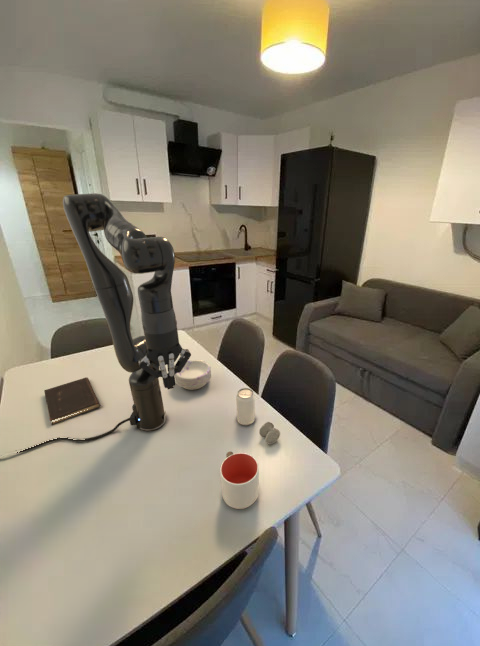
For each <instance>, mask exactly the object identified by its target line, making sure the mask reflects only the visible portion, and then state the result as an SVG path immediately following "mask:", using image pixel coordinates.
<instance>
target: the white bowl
mask: <svg viewBox="0 0 480 646" xmlns="http://www.w3.org/2000/svg"><path fill="white" fill-rule="evenodd" d="M211 379H212V367H211V365H210V363H208V362H207V361H205V360H201V359H189V360H188V361H187V363H186V364H185V366H184V367H183V369H182V370H181V372H179V373H176V374H175V383H176V384H177V386H178V387H181V388H184V389H186V390H189V391H195V390H199V389H202V388H203V387H204V386H206V385H207V384H208V383H209V382H210V381H211Z"/></svg>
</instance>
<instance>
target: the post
mask: <svg viewBox="0 0 480 646" xmlns="http://www.w3.org/2000/svg"><path fill="white" fill-rule="evenodd" d="M233 454H234V452H233V451H228V452H226V454H225V456H226V458H227V457H229V456H230V455H233Z"/></svg>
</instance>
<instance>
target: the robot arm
mask: <svg viewBox="0 0 480 646" xmlns="http://www.w3.org/2000/svg"><path fill="white" fill-rule="evenodd" d="M62 206H63V211H64V213H65V217H66V219H67V221H68V223H69V226H70V228H71V231H72V233H73V236H74V237H75V240H76V242H77V244H78V247H79V250H80V251H81V254H82V256H83V259H84V262H85V264H86V267H87V270H88V273H89V276H90V280H91V282H92V285H93V288H94V290H95V294H96V296H97V298H98V301H99V305H100V306H101V309H102V311H103V314H104V318H105V320H106V323H107V326H108V329H109V333H110V337H111V341H112V346H113V349H114V353H115V356H116V359H117V361H118V363H119V365H120V367H121V368H122V369H123V370H124V371H126V372H128V373H130V375H129V377H128V385H129V388H130V391H131V392H130V393H131V396H132V401H133V404H132V406H131V409H132V411H131V414H130V416H129V417H128V418H126V419H123V420H122V421H120V422H118V423H117V424H116V425H115V426H114V427H113V428H112V429H111V430H109V431H106V432H105V433H101V434H100V435H96V436H92V437H87V438H84V439H85V440H73V439H75V438H73V439H68V438H70V437H69V436H68V437H67V436H66V437H67V438H60V437H61V436H59V437H56V438H57V439H54V438H52V439H53V440H50V439H48V440H49V441H47V440H45V441H46V442H45V441H43V442H44V443H42V442H40V443H41V444H39V443H38V444H39V445H37V444H34V445H33V446H34V447H32V446H30V447H31V448H29V447H27V448H28V449H26V448H24V449H25V450H23V451H20V452H19V453H18V452H17V453H16V454H22V453H26V452H29V451H31V450H34V449H37V448H38V447H42V446H43V445H46V444H50V443H53V442H56V441H71V442H77V443H82V442H88V441H93V440H98V439H101V438H103V437H106V436H109V435H110V434H112V433H114V432H115V431H116V430H118V428H119V427H120V426H121V425H123V424H124V423H127V422H129V424H130V426H136V429H139V430H141V431H143V432H154V431H157V430H159V429H160V428H162V427H163V426H164V425H165V424H166V422H167V416H166V413H167V412H166V410H165V407H164V401H163V395H162V391H161V390H162V389H161V384H160V379H159V378H162V384H163V386H164V388H165V389H167V390H172V389H174V388H175V386H176V384H177V383H176V379H175V374H176V373H179V372H181V370H182V369H183V367H184V366H185V364H186V363H187V361H190V358H191V356H192V354H191V353H192V352H190V350H189V349H188V348H183V346H182V345H181V344H180V338H179V332H178V321H177V317H176V311H175V309H174V305H173V304H174V303H173V297H172V283H173V275H174V269H175V262H176V253H175V249H174V247H173V245H172V243H171V241H169V240H168V239H167V238H166V237H164V236H151V237H147V234H145V232H143V230H142V229H141V228H139V227H138V226H136V225H134V224H133V223H132V222H130V221H128V219H127V218H126V217H125V216H124V215H123V214H122V213H121V211H119V209H118V208H117V207H116V206H115V204H114V203H113V202H112V201H111V200H110V199H109V198H108V197H107V196H106V195H104V194H103V193H95V192H93V193H79V194H78V193H76V194H66V195H64V196H63V199H62ZM98 231H99V232H100V231H103V234H104V238H105V239H106V241H107V243H108V244H109V245H110V246H111V247H112V248H114V249H115V250H116V251H117V252H118V253H119V255H120V257H121V259H122V263H123V265H124V267H125V269H126V270H128V271H129V272H131V273H133V274H135V275H136V274H137V275H141V274H147V273H152V272H153V275H152V278H150V279H149V280H147V281H145V282H143V283H141V284H140V285H139V286H138V287H137V297H138V302H139V308H140V313H141V314H140V315H141V324H142V330H143V335H140V336H136V337H135V338H133V336H132V332H131V321H132V315H133V309H134V299H135V298H134V293H133V291H132V290H133V289H132V287H131V284H130V281H129V278H128V276H127V274H126V273H125V272H124V271H123V270H122V269H121V268H120V267H119V266H118V265H117V264H116V263H114V262H113V261H112V260H111V259H110V258H109V257H107V255H105V253H103V252H102V251H101V249H100V248H99V247H98V246H97V244H96V243H95V241H94V239H93V238H92V236H91V232H92V233H93V232H98ZM35 445H36V446H35Z"/></svg>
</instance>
